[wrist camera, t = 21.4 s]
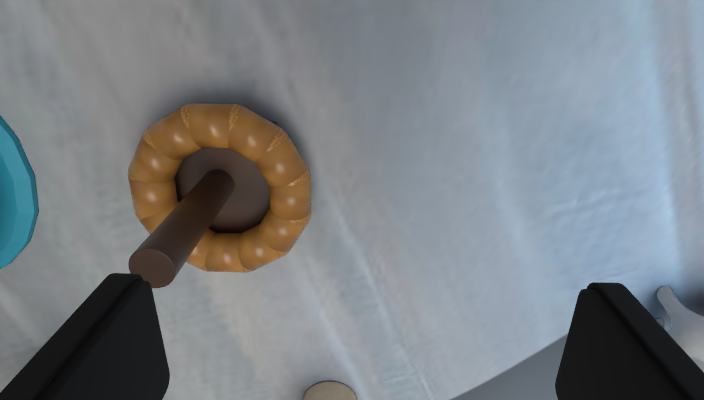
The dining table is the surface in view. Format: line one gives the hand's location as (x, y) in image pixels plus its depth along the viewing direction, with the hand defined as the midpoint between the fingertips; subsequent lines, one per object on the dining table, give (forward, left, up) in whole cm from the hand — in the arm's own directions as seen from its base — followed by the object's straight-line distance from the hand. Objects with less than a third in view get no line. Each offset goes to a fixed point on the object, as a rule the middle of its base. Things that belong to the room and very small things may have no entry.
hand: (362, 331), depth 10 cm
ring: (+6, -10, -22) cm, 25 cm away
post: (+6, -11, -25) cm, 28 cm away
